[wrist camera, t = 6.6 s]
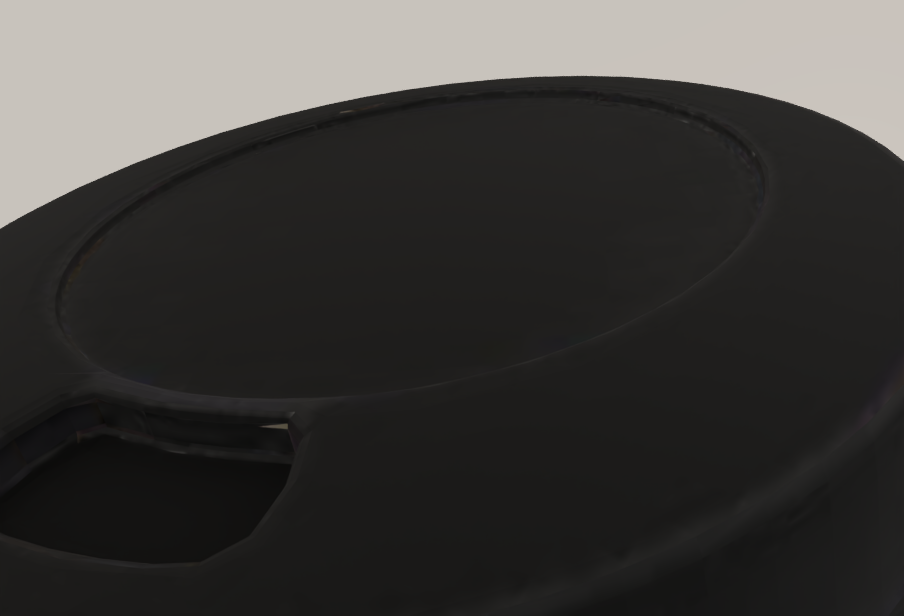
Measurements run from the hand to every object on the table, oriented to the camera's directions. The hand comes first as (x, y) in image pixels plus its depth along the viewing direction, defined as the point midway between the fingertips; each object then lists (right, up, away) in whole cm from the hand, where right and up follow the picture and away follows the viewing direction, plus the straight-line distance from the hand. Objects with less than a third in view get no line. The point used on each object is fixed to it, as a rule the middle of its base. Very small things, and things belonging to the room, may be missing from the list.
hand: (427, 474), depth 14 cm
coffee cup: (+2, -10, 0) cm, 10 cm away
